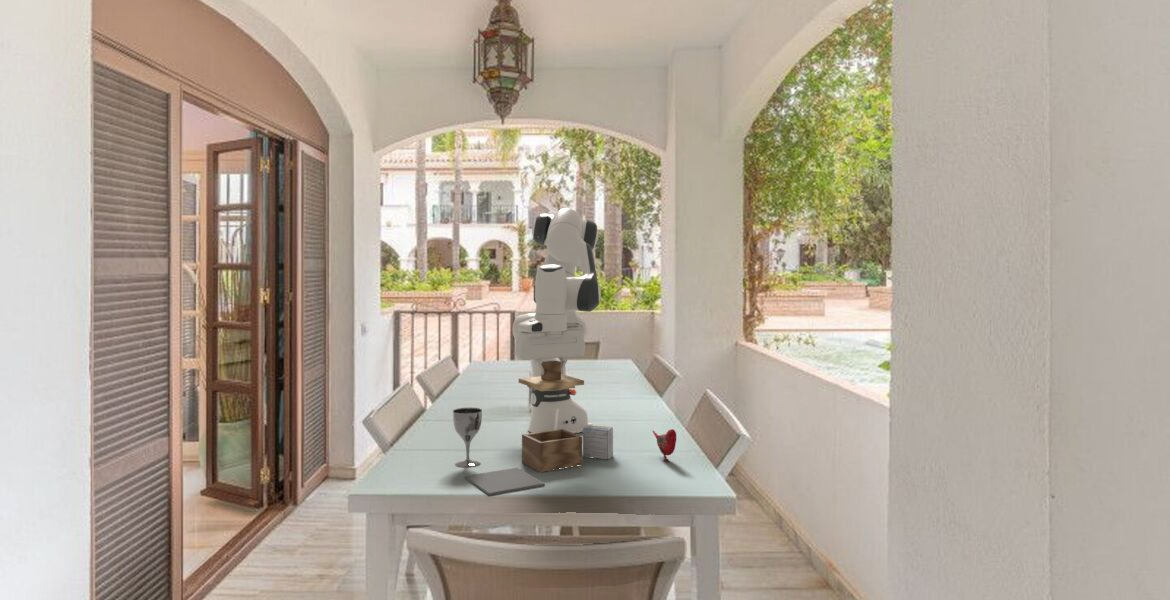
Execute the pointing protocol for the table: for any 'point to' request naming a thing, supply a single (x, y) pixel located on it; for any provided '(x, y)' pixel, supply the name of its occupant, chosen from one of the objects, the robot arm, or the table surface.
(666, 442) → the decorative bird figurine
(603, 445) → the medicine box
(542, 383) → the lid
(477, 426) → the wine glass
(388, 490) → the table surface
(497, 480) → the mat
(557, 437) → the storage box
